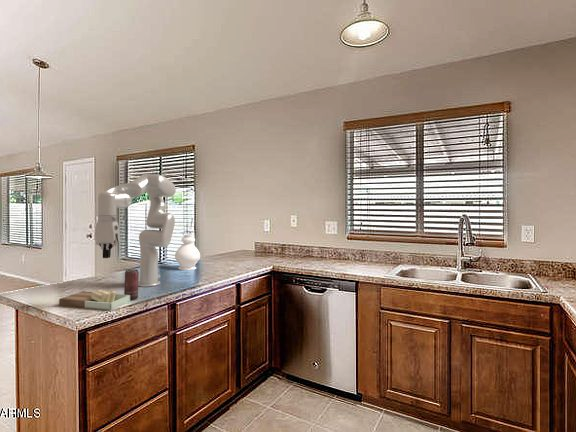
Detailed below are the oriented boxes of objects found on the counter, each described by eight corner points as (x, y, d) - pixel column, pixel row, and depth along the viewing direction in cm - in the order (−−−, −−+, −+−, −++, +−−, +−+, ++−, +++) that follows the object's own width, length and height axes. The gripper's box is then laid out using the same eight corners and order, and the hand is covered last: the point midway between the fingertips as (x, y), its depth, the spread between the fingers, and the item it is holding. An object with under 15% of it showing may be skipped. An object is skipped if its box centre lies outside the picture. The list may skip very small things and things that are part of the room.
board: (82, 297, 162) (82, 291, 162) (105, 299, 161) (105, 293, 161) (59, 305, 149) (59, 299, 148) (83, 307, 147) (83, 301, 147)
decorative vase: (186, 271, 232) (187, 235, 232) (169, 268, 242) (170, 233, 241) (205, 268, 248) (206, 234, 247) (188, 265, 257) (189, 232, 256)
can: (131, 301, 159) (132, 272, 159) (121, 299, 162) (122, 270, 161) (141, 298, 165) (142, 270, 165) (131, 296, 167) (132, 268, 167)
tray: (106, 299, 161) (106, 293, 161) (130, 301, 159) (130, 295, 159) (84, 308, 147) (84, 301, 147) (110, 310, 145) (111, 303, 145)
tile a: (98, 295, 156) (100, 289, 156) (107, 299, 156) (109, 292, 155) (90, 298, 151) (92, 292, 151) (100, 302, 151) (101, 295, 150)
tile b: (110, 289, 156) (116, 291, 155) (107, 300, 156) (113, 302, 155) (103, 292, 151) (109, 294, 150) (100, 303, 151) (106, 305, 150)
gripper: (126, 219, 159) (126, 257, 160) (98, 217, 162) (98, 255, 163) (116, 220, 152) (115, 260, 153) (86, 218, 154) (86, 258, 155)
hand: (106, 257), depth 158 cm, fingers closed
